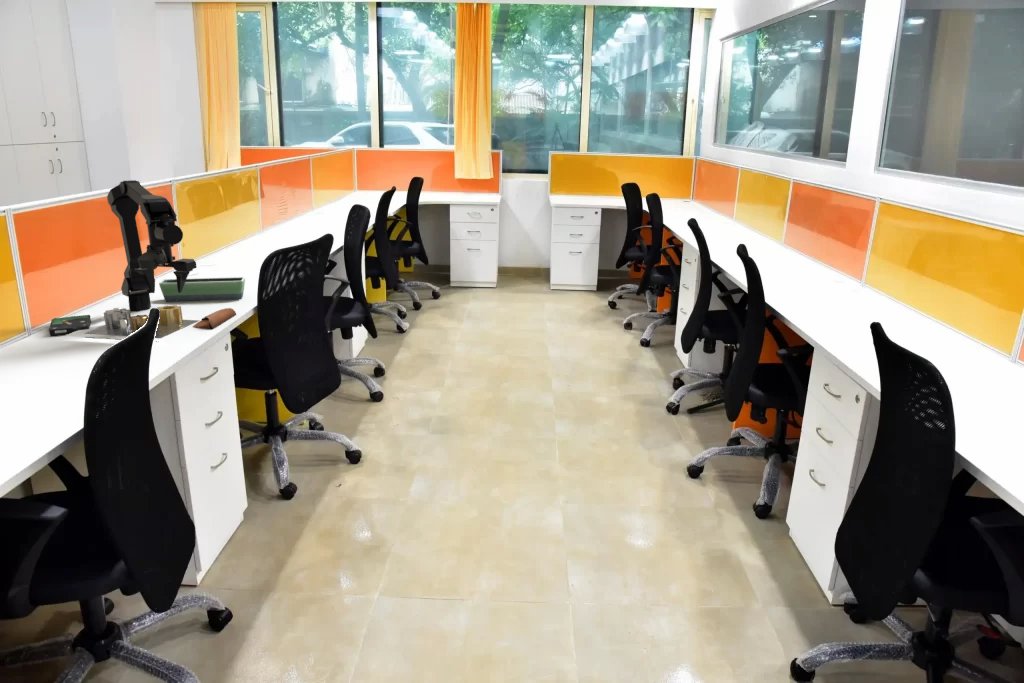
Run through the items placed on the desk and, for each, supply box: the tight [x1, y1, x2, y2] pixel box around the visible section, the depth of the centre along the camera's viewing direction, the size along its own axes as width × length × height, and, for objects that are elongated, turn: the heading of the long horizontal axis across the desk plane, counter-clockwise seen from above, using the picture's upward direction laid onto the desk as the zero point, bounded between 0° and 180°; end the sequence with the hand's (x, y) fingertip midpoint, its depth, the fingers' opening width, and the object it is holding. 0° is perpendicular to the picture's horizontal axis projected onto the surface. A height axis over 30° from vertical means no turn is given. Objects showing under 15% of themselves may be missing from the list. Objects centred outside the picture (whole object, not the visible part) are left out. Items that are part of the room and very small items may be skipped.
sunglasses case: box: [192, 307, 237, 330], centre depth 224 cm, size 18×7×7 cm, turn 179°
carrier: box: [84, 307, 199, 343], centre depth 216 cm, size 20×24×6 cm
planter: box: [159, 276, 246, 303], centre depth 256 cm, size 28×7×7 cm, turn 103°
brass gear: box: [157, 304, 184, 325], centre depth 222 cm, size 7×7×4 cm
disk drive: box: [48, 314, 92, 338], centre depth 218 cm, size 10×3×15 cm
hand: (166, 291), depth 220 cm, fingers open, 9 cm apart
